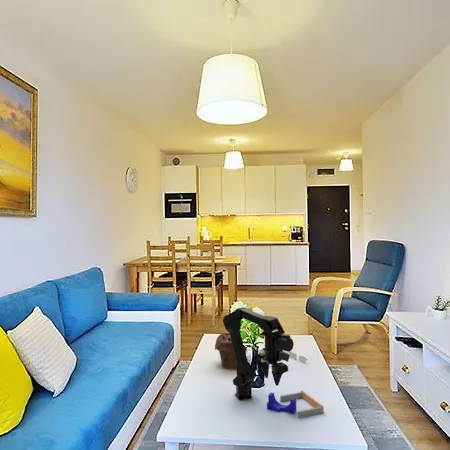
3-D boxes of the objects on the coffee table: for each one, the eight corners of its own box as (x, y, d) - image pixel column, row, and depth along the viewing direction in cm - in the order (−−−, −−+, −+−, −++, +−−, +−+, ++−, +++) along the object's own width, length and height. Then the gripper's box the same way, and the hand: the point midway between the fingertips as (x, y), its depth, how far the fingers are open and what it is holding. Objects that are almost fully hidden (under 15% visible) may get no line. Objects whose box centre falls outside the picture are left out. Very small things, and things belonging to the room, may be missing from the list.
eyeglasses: (307, 365, 232) (307, 358, 232) (284, 372, 222) (284, 365, 222) (289, 357, 245) (289, 350, 245) (266, 364, 234) (266, 357, 234)
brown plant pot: (217, 358, 242) (216, 329, 242) (250, 359, 240) (250, 330, 240) (213, 370, 225) (212, 338, 224) (249, 371, 223) (248, 339, 222)
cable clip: (267, 409, 178) (266, 396, 178) (271, 405, 182) (270, 392, 182) (292, 416, 172) (292, 402, 172) (296, 411, 176) (296, 397, 176)
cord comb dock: (299, 417, 170) (299, 410, 170) (280, 400, 186) (280, 394, 186) (323, 412, 174) (323, 405, 174) (302, 396, 190) (302, 390, 190)
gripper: (298, 350, 172) (299, 386, 172) (276, 338, 189) (276, 371, 190) (275, 353, 168) (276, 391, 168) (255, 341, 185) (255, 375, 185)
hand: (271, 381), depth 178 cm, fingers open, 9 cm apart
